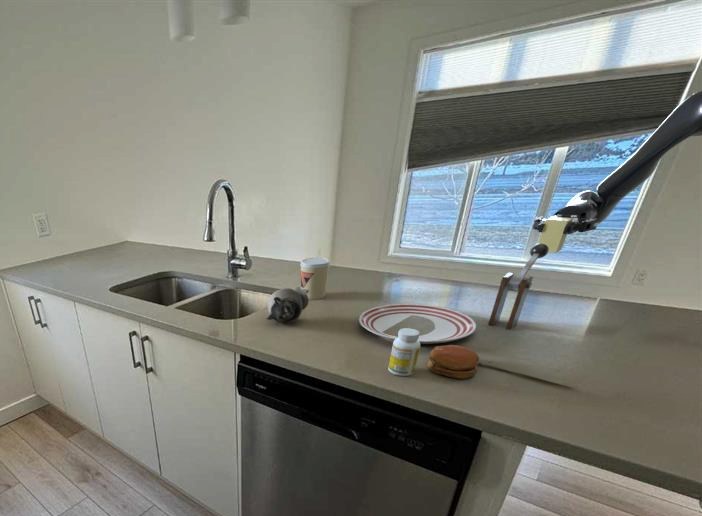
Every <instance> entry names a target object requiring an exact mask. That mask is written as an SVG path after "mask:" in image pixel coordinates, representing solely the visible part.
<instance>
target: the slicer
mask: <svg viewBox="0 0 702 516" xmlns="http://www.w3.org/2000/svg"><path fill="white" fill-rule="evenodd" d="M513 276H515V273H513V272H508V273H506V274H505V275H503V276H502V278H501V280H500V283H499V288H498V291H497V294H496V297H495V301H494V304H493V308H492V310H491V314H490V317H489V320H488V324H487V326H491V327H493V326H494V325H496V324H497V323H498V322H499V321H500V318H501V315H502V312H503V310H504V309H503V308H504V306H505V303H506V300H507V297H508V293H509V290H507V289H508V283H509V281H510V280H511V279H512V277H513ZM533 279H534V275H531V274H530V275H527V276H525V277H524V279H522V282H521V285H520V288H519V291H518V292H517V295H516V296H515V297H516V298H515V300H514V303H513V306H512V309H511V313H510V315H509V318H508V321H507V324H506V327H505V330H509V331H511V330H513V328H515V327H516V326H517V325H518V322H519V319H520V316H521V314H522V310H523V308H524V304H525V302H526V299H527V296H528V293H529V290H530V289H531V288H532V285H533V283H532V281H533Z"/></svg>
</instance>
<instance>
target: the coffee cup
mask: <svg viewBox="0 0 702 516" xmlns="http://www.w3.org/2000/svg"><path fill="white" fill-rule="evenodd" d="M330 264H331V262H330V260H329V259H328V258H325V257H309V258H304V259H302V260H301V262H300V288H301V289H303V290H304V291H306V294H307V296H308V299H309V300H320V299H323V298H324V297H325V295H326V290H327V289H326V288H327V282H328V275H329V269H330Z"/></svg>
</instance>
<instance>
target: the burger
mask: <svg viewBox="0 0 702 516" xmlns="http://www.w3.org/2000/svg"><path fill="white" fill-rule="evenodd" d="M479 362H480V356H479V355H478V352H476V351H475V350H473V349H470V348H467V347H464V346H461V345H456V344H447V345H438V346H437V345H436V346H434V347H433V348H432V350H431V351H430V353H429V358H428V362H427V364H426V367H427V369H428V370H429V371H430V372H432V373H434V374H438V375H443V376H446V377H449V378H450V377H451V378H455V379H469V378H472V377H473V376H475V374H476V373H477V366H478V363H479Z"/></svg>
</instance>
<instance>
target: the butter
mask: <svg viewBox="0 0 702 516" xmlns="http://www.w3.org/2000/svg"><path fill="white" fill-rule="evenodd" d="M550 217H551V218H549V219H547V218H546V219H547V220H546V221H545V224H544V227H543V230H542V232H540V236H539V239H538V242H537V244H546V245H547V246H548V248H549V251H548V253H547V254H557V253H559V252H560V251H561V250H562V249H563V247H564V244H565V241H566V238H567V236H568V234H563V231H564V228H565V226H566V225H567V224H569V223H571V222H572V220H573V218H563V217H552V216H550Z"/></svg>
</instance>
